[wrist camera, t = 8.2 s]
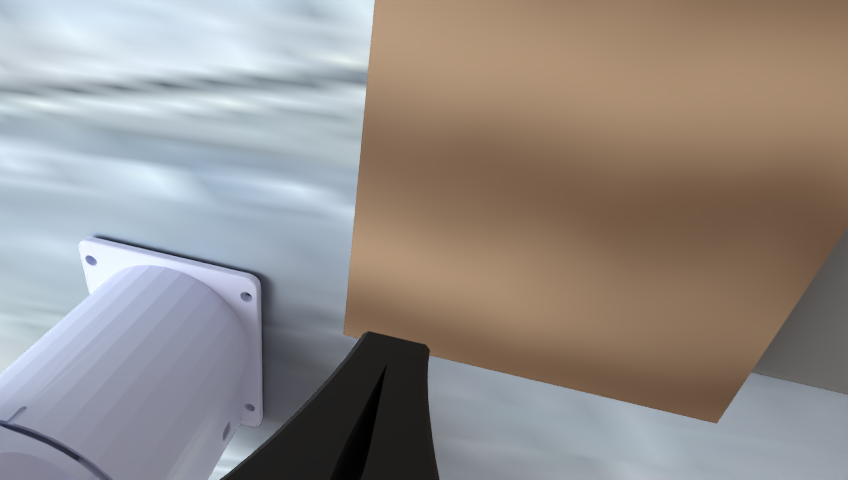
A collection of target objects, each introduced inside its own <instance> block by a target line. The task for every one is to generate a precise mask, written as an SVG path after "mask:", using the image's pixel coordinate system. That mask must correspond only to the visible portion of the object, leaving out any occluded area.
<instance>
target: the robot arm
mask: <svg viewBox="0 0 848 480" xmlns="http://www.w3.org/2000/svg"><path fill="white" fill-rule="evenodd" d="M79 250H80V255H81V259H82V264H83V268H84V272H85V277H86V281H87V285H88V290H89V294H90V295H89V296H88V297H87V298H86V299H85V300H83V301H82V302H81V303H80V304H79V305H78V306H77V307H75V308H74V309H73V310H72V311H71V312H70V313H69V314H67V315H66V316H65V317H64V318H63V319H62V320H61V321H60V322H58V323H57V324H56V325H55V326H54V327H53V328H52V329H50V330H49V331H48V332H47V333H46V334H45V335H44V336H42V337H41V338H40V339H39V340H38V341H37V342H36V343H35V344H33V345H32V346H31V347H30V348H29V349H28V350H27V351H25V352H24V353H23V354H22V355H21V356H20V357H19V358H18V359H16V360H15V361H14V362H13V363H12V364H11V365H10V366H8V367H7V368H6V369H5V370H4V371H3V372H2V373H0V480H208V478H209V477H210V475H211V473H212V471H213V470H214V468H215V466H216V464H217V463H218V461H219V459H220V457H221V456H222V454H223V452H224V450H225V449H226V447H227V445H228V443H229V441H230V440H231V438H232V436H233V434H234V433H235V431H236V429H237V427H238V426H239V424H241V425H245V426H249V427H257V426H259V425H260V423H261V421H262V419H263V398H262V331H261V284H260V281H259V280H258V278H257V277H255V276H254V275H252V274H249V273H245V272H241V271H236V270H232V269H228V268H224V267H219V266H215V265H211V264H206V263H202V262H198V261H193V260H189V259H185V258H181V257H176V256H172V255H168V254H163V253H159V252H155V251H150V250H146V249H142V248H138V247H133V246H129V245H125V244H120V243H116V242H112V241H108V240H103V239H99V238H95V237H87V238H85V239H83V240H82V241H81V242H80V243H79ZM245 292H247V293H249V294H250V295H251V296H249V295H247V294H246V293H245ZM429 354H430V349H429V348H428V347H427V345H426V344H422V343H417V342H413V341H409V340H405V339H400V338H396V337H392V336H388V335H384V334H379V333H375V332H371V331H368V332H366V333H364V334H362V336H361V337H360V339H359V340H358V342H357V343H356V345H355V346H354V347H353V349H352V350H351V352H350V353H349V354H348V355H347V357H346V358H345V359H344V360H343V362H342V363H341V364H340V365H339V366H338V368H337V369H336V370H335V371H334V372H333V374H332V375H331V376H330V377H329V378H328V379H327V380H326V382H325V383H324V384H323V385H322V386H321V387H320V388H319V389H318V390H317V391H316V392H315V394H314V395H313V396H312V397H311V398H310V399H309V400H308V401H307V402H306V403H305V404H304V405H303V406H302V407H301V408H300V409H299V410H298V411H297V412H296V413H295V414H294V415H293V416H292V417H291V418H290V419H289V420H288V421H287V422H286V423H285V424H284V425H283V426H282V427H281V428H280V429H279V430H278V431H277V432H276V433H274V434H273V435H272V436H271V437H270V438H269V439H268V440H267V441H266V442H265V443H263V444H262V445H261V446H260V447H259V448H258V449H257V450H255V451H254V452H253V453H252V454H251V455H250V456H248V457H247V458H246V459H245V460H244V461H242V462H241V463H240V464H239V465H238V466H236V467H235V468H234V469H233V470H231V471H230V472H229V473H228V474H226V475H225V476H224V477H222V478H221V479H220V480H439V475H438V470H437V464H436V459H435V453H434V446H433V440H432V432H431V423H430V415H429V404H428V360H429Z"/></svg>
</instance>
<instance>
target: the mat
mask: <svg viewBox="0 0 848 480" xmlns="http://www.w3.org/2000/svg"><path fill="white" fill-rule="evenodd" d="M751 372H753V373H757V374H761V375H766V376H770V377H774V378H779V379H783V380H787V381H792V382H796V383H800V384H805V385H809V386H813V387H818V388H822V389H826V390H831V391H835V392H839V393H844V394H848V227H847V229H846V230H845V232H844V233H843V235H842V236H841V238H840V239H839V241H838V242H837V244H836V245H835V247H834V248H833V250H832V251H831V253H830V254H829V256H828V257H827V259H826V260H825V262H824V263H823V265H822V266H821V268H820V269H819V271H818V272H817V274H816V275H815V277H814V278H813V280H812V281H811V283H810V284H809V286H808V287H807V289H806V290H805V292H804V293H803V295H802V296H801V298H800V299H799V301H798V302H797V304H796V305H795V307H794V308H793V310H792V311H791V313H790V314H789V316H788V317H787V319H786V320H785V322H784V323H783V325H782V326H781V328H780V329H779V331H778V332H777V334H776V335H775V337H774V338H773V340H772V341H771V343H770V344H769V346H768V347H767V349H766V350H765V352H764V353H763V355H762V356H761V358H760V359H759V361H758V362H757V364H756V365H755V367H754V368H753V370H752V371H751Z"/></svg>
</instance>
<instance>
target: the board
mask: <svg viewBox="0 0 848 480" xmlns="http://www.w3.org/2000/svg"><path fill="white" fill-rule="evenodd" d="M847 227H848V0H375V4H374V15H373V26H372V36H371V47H370V58H369V68H368V79H367V89H366V100H365V111H364V121H363V132H362V143H361V153H360V164H359V175H358V185H357V196H356V207H355V217H354V228H353V239H352V249H351V260H350V271H349V281H348V292H347V303H346V313H345V324H344V335H347V336H351V337H355V338H359V339H360V337H361V336H362V334H364V333H366V332H368V331H371V332H375V333H379V334H384V335H388V336H392V337H396V338H400V339H405V340H409V341H413V342H417V343H422V344H426V345H427V347H428V348H429V349H430V354H429V355H431V356H435V357H439V358H443V359H448V360H452V361H456V362H460V363H464V364H469V365H473V366H477V367H481V368H485V369H490V370H494V371H498V372H502V373H506V374H511V375H515V376H519V377H523V378H528V379H532V380H536V381H540V382H544V383H549V384H553V385H557V386H561V387H565V388H570V389H574V390H578V391H582V392H586V393H591V394H595V395H599V396H603V397H607V398H612V399H616V400H620V401H624V402H628V403H633V404H637V405H641V406H645V407H649V408H654V409H658V410H662V411H666V412H671V413H675V414H679V415H683V416H687V417H692V418H696V419H700V420H704V421H708V422H713V423H717V422H718V421H719V419H720V418H721V416H722V415H723V413H724V412H725V410H726V409H727V407H728V406H729V404H730V403H731V401H732V400H733V398H734V397H735V395H736V394H737V392H738V391H739V389H740V388H741V386H742V385H743V383H744V382H745V380H746V379H747V377H748V376H749V374H750V373H751V371H752V370H753V368H754V367H755V365H756V364H757V362H758V361H759V359H760V358H761V356H762V355H763V353H764V352H765V350H766V349H767V347H768V346H769V344H770V343H771V341H772V340H773V338H774V337H775V335H776V334H777V332H778V331H779V329H780V328H781V326H782V325H783V323H784V322H785V320H786V319H787V317H788V316H789V314H790V313H791V311H792V310H793V308H794V307H795V305H796V304H797V302H798V301H799V299H800V298H801V296H802V295H803V293H804V292H805V290H806V289H807V287H808V286H809V284H810V283H811V281H812V280H813V278H814V277H815V275H816V274H817V272H818V271H819V269H820V268H821V266H822V265H823V263H824V262H825V260H826V259H827V257H828V256H829V254H830V253H831V251H832V250H833V248H834V247H835V245H836V244H837V242H838V241H839V239H840V238H841V236H842V235H843V233H844V232H845V230H846V229H847Z"/></svg>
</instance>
